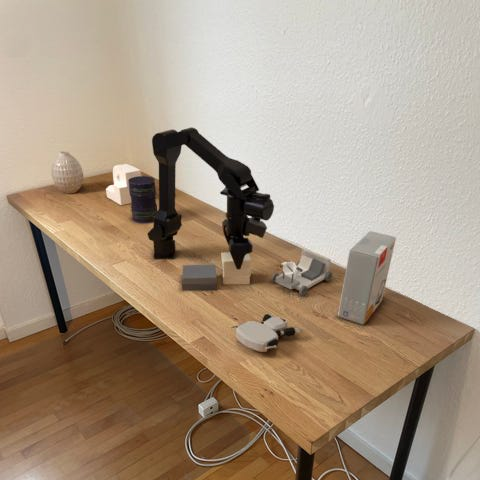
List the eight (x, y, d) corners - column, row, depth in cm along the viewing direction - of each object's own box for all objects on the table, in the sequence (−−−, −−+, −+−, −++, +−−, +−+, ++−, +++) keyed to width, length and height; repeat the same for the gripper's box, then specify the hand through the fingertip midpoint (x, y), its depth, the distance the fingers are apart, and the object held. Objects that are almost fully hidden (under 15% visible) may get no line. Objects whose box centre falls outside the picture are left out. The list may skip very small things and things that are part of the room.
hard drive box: (364, 326, 126) (377, 257, 115) (336, 317, 130) (347, 250, 119) (382, 300, 137) (396, 236, 126) (357, 293, 141) (368, 229, 130)
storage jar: (161, 215, 189) (158, 177, 181) (153, 224, 181) (150, 185, 173) (137, 212, 190) (133, 175, 182) (128, 222, 182) (123, 183, 174)
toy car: (297, 270, 131) (266, 256, 138) (295, 300, 136) (264, 286, 143) (335, 250, 142) (304, 238, 148) (331, 279, 147) (302, 267, 154)
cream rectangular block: (223, 269, 140) (223, 261, 139) (221, 260, 145) (221, 252, 144) (250, 268, 141) (251, 260, 140) (247, 259, 146) (247, 251, 145)
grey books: (182, 290, 140) (181, 278, 138) (183, 276, 147) (182, 264, 145) (216, 290, 141) (216, 278, 138) (216, 276, 148) (216, 264, 146)
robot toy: (266, 321, 129) (226, 340, 119) (268, 306, 126) (227, 325, 117) (302, 341, 122) (262, 363, 112) (304, 325, 119) (264, 347, 110)
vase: (50, 190, 210) (42, 151, 201) (77, 184, 218) (70, 146, 209) (63, 198, 203) (55, 157, 194) (91, 191, 210) (85, 152, 201)
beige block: (222, 284, 143) (222, 269, 140) (222, 274, 149) (222, 259, 146) (250, 284, 144) (251, 269, 141) (249, 274, 149) (249, 259, 146)
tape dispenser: (143, 199, 203) (140, 170, 196) (121, 205, 197) (117, 174, 190) (124, 190, 213) (121, 161, 206) (103, 194, 207) (98, 165, 200)
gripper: (272, 223, 128) (269, 275, 136) (259, 199, 143) (257, 247, 152) (230, 225, 126) (230, 277, 135) (221, 200, 142) (222, 249, 150)
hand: (236, 262), depth 143 cm, fingers open, 9 cm apart
